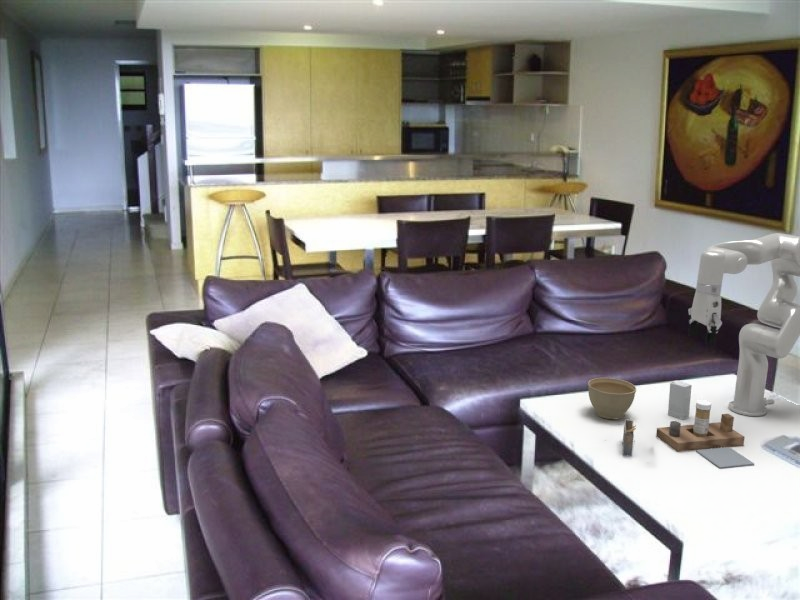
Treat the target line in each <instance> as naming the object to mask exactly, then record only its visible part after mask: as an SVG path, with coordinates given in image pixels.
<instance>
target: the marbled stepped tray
mask: <svg viewBox="0 0 800 600" xmlns="http://www.w3.org/2000/svg"><path fill="white" fill-rule="evenodd" d="M623 425H624V426H623V435H622V456H627V455H628V457H632V455H633V447H634V446H633V445H634V437H635V434H634V432H635V430H636V429H637V428H636V425H634V420H632V419H624V424H623Z"/></svg>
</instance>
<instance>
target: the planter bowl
mask: <svg viewBox="0 0 800 600" xmlns="http://www.w3.org/2000/svg"><path fill="white" fill-rule="evenodd" d="M587 386H588V398H589V401H590V404H591V406H592V408H593V409H594V413H595V415H596V416H598V417H600V418H603V419H607V420H619V419H622V418H623V417H624V415H625V413H626V412H627V411H628V410H629V409H630V407H631V406H632V405H633V403H634V400H635V396H636V392H637V387H636V385H634V384H633V383H631V382H629V381H628V380H627V381H626V380H623V379H620V378H619V379H618V378H615V377H614V378H611V377H597V378H593V379H590V380H589V381H588V384H587Z"/></svg>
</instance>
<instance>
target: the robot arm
mask: <svg viewBox="0 0 800 600" xmlns="http://www.w3.org/2000/svg"><path fill="white" fill-rule="evenodd" d="M766 262H767V263H768V262H770V264H771V271H772V284H771V286H770V289H769V291H768V292H767V294H766V296H765V298H764V299H763V301H762V303H761V304H760V306H759V308H758V310H757V313H756V316H757V319H758V321H760V322H761V323H762V324H759V323H752V322H751V323H748V324H745V325H743V326H742V327H741V329H740V331H739V334H738V344H739V356H738V357H739V358H738V365H737V366H738V367H737V374H736V382H735V390H734V396H733V400H731V401H730V402H729V403H728V405H727V406H728V407H727V408H728V409H729V410H730V411H731V412H734V413H736V414H740V415H743V416H748V417H762V416H765V415H766V414H767V411H768V409H767V408H766V406H772V405H775V403H776V402H775V400H774V399H773V398H768V399H767V397H765V391H766V386H767V385H766V384H767V377H768V370H769V361H768V357H771V358H774V359H784V358H786V357H787V356H788V355H789V354H790V352H792V350H793V349H794V346H795V344H796V342H797V341H798V339H799V338H800V304H799V303H794V300H795V299H796V296H797V294H798V286H797V283H796V281H795V278H794V277H799V278H800V236H797V235H794V234H793V235H792V234H785V233H781V232H780V233H779V232H776V233H771V234H767V235H763V236H762V237H757V238H755V239H754V238H753V239H749V240H748V239H747V240H738V241H737V240H735V241H734V240H733V241H725V242H719V243H717V244H713V245H710V246H708V247H707V248H706V249H705V250H704V251H702V252H701V254H700V257H699V266H698V272H697V280H696V287H695V293H694V297H693V301H692V306H691V307H690V308H687V309H688V310H687V311H688V324H689V327H688V332H687V333H688V334H687V335H688V336H689V337H698V335H699V328H700V324H702V325H704V326H706V328H707V331H706V334H705V340H704V341H705V342H704V343H705V345H715V344H716V339H717V334H718V332H719V331H720V328H721V326H722V325H723V321H722V320H721V316H722V295H721V293H722V287H723V281H724V280H723V279H724V274H730V275H738V274H741V273H742V272H744V271H745V270H746V268H747V266H748V265H750V266H751V265H752V266H754V265H756V266H757V265H761V264H764V263H766ZM699 323H700V324H699ZM763 324H766V325H768V326H766V325H763ZM773 327H775V328H773ZM777 328H779V329H777Z"/></svg>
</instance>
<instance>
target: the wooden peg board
mask: <svg viewBox="0 0 800 600" xmlns="http://www.w3.org/2000/svg"><path fill="white" fill-rule="evenodd" d="M734 421H735V417H734V416H733V415H732V414H730V413H721V418H720V422H719V421H718V422H709V427H708V433H707V436H706V437H696V436H695V435H693V431H694V430H693V429H694V424H687V425H682V424H681V422H680V421H676V420H671V421H670V423H669V426H663V427H662V426H661V427H657V428H656V437H657V439H659V440H661V441H662V443H664V444H665V445H667V446H668V447H670V448H671V449H672V450H673V451H675V452H676V453H681V452H690V451H691V452H692V451H696V450H704V449H711V448H713V449H714V448H721V447H723V448H724V447H730V448H732V447H742V446H744V445H745V444H744V443H745V439H746V438H745V436H744V435H743V434H741V433H739V432H738V431H736V430H735V429H733V428H734Z"/></svg>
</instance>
